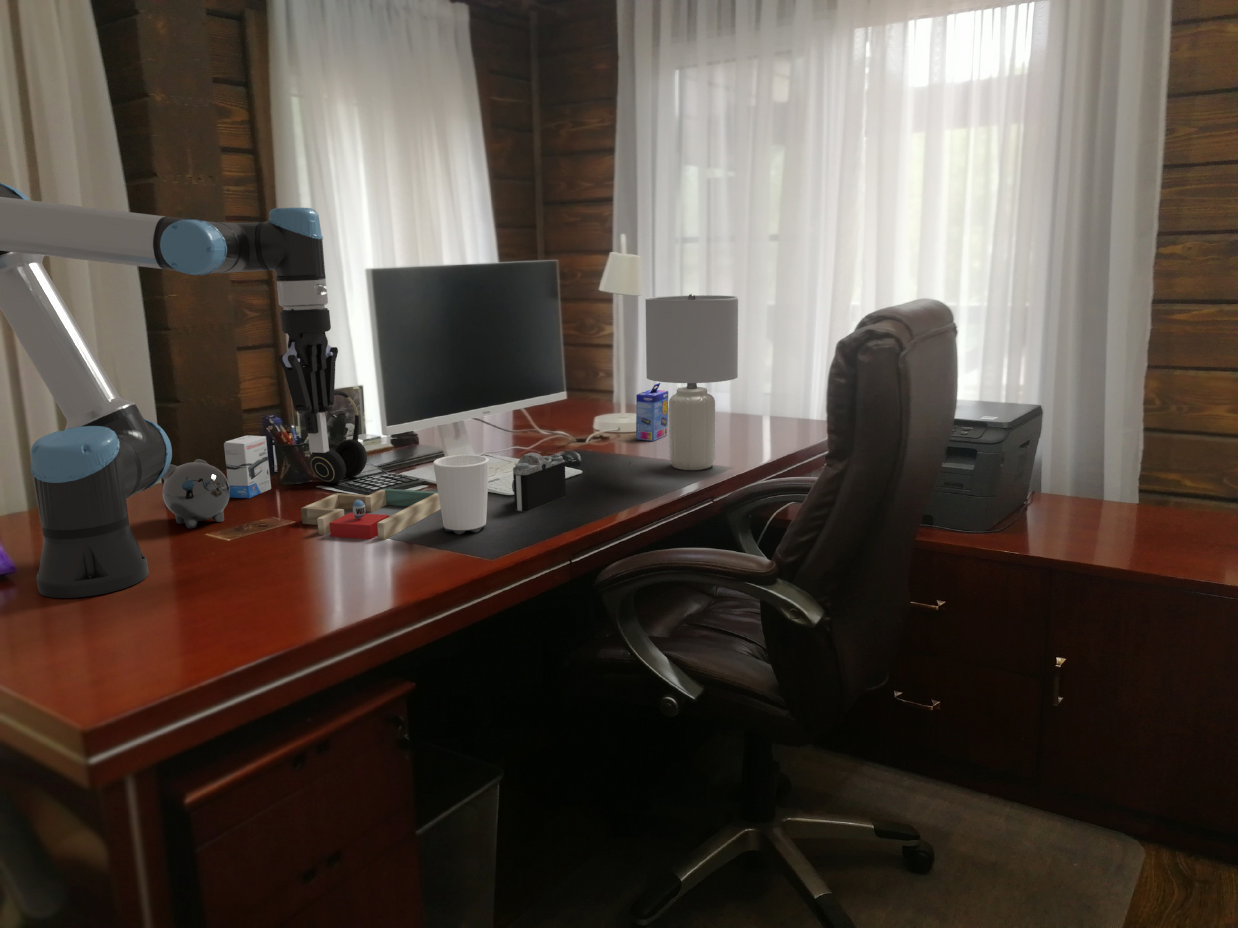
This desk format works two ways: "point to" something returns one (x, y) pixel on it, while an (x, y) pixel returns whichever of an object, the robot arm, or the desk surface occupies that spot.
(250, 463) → the ink box
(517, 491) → the camera
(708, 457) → the lamp
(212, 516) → the piggy bank
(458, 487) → the cup
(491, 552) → the desk surface
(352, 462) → the headphones
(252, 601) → the desk surface
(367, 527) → the red rectangular block
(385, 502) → the channel
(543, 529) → the desk surface
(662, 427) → the ink cartridge box
